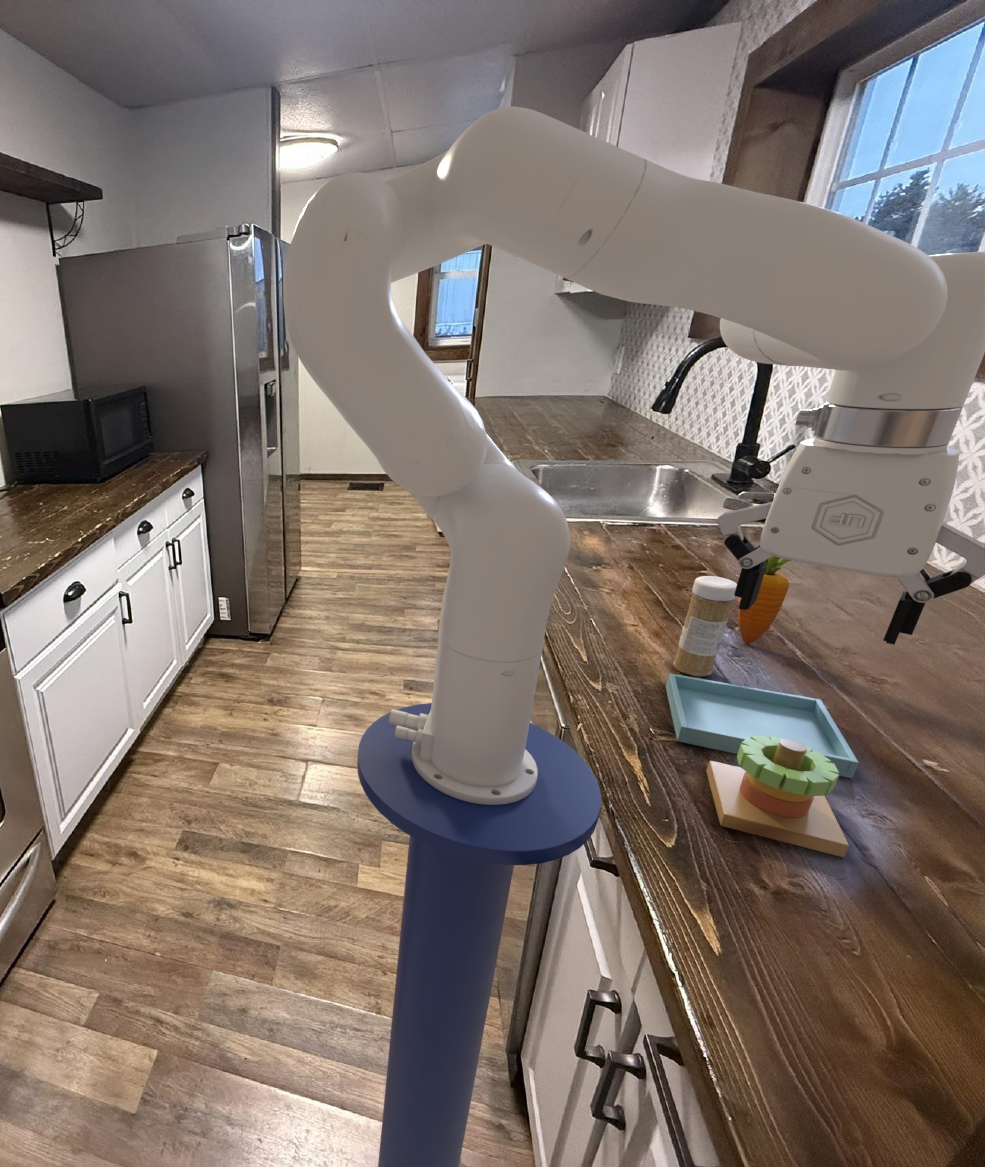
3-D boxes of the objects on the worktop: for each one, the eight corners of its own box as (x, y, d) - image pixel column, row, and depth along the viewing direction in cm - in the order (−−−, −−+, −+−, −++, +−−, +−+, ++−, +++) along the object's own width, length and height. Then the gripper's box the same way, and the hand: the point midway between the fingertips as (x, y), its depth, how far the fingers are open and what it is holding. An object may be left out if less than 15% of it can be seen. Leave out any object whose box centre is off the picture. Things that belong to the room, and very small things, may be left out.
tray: (677, 741, 73) (681, 726, 72) (665, 686, 84) (669, 673, 83) (852, 778, 66) (859, 762, 65) (815, 713, 77) (821, 699, 76)
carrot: (733, 633, 96) (761, 540, 90) (774, 644, 92) (806, 549, 87) (720, 642, 94) (748, 548, 88) (761, 655, 90) (793, 557, 84)
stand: (720, 826, 61) (742, 759, 58) (705, 771, 68) (725, 709, 65) (844, 858, 57) (875, 788, 54) (814, 796, 64) (841, 731, 61)
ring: (745, 782, 60) (749, 769, 59) (731, 741, 65) (735, 729, 64) (843, 805, 56) (850, 791, 56) (820, 760, 62) (825, 747, 61)
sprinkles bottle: (681, 658, 90) (704, 572, 85) (718, 671, 86) (745, 582, 81) (665, 668, 88) (688, 580, 83) (703, 682, 84) (729, 590, 79)
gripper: (733, 426, 54) (686, 606, 60) (1060, 446, 41) (955, 670, 48) (756, 415, 58) (709, 584, 65) (1058, 430, 46) (962, 638, 52)
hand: (814, 621), depth 56 cm, fingers open, 9 cm apart
